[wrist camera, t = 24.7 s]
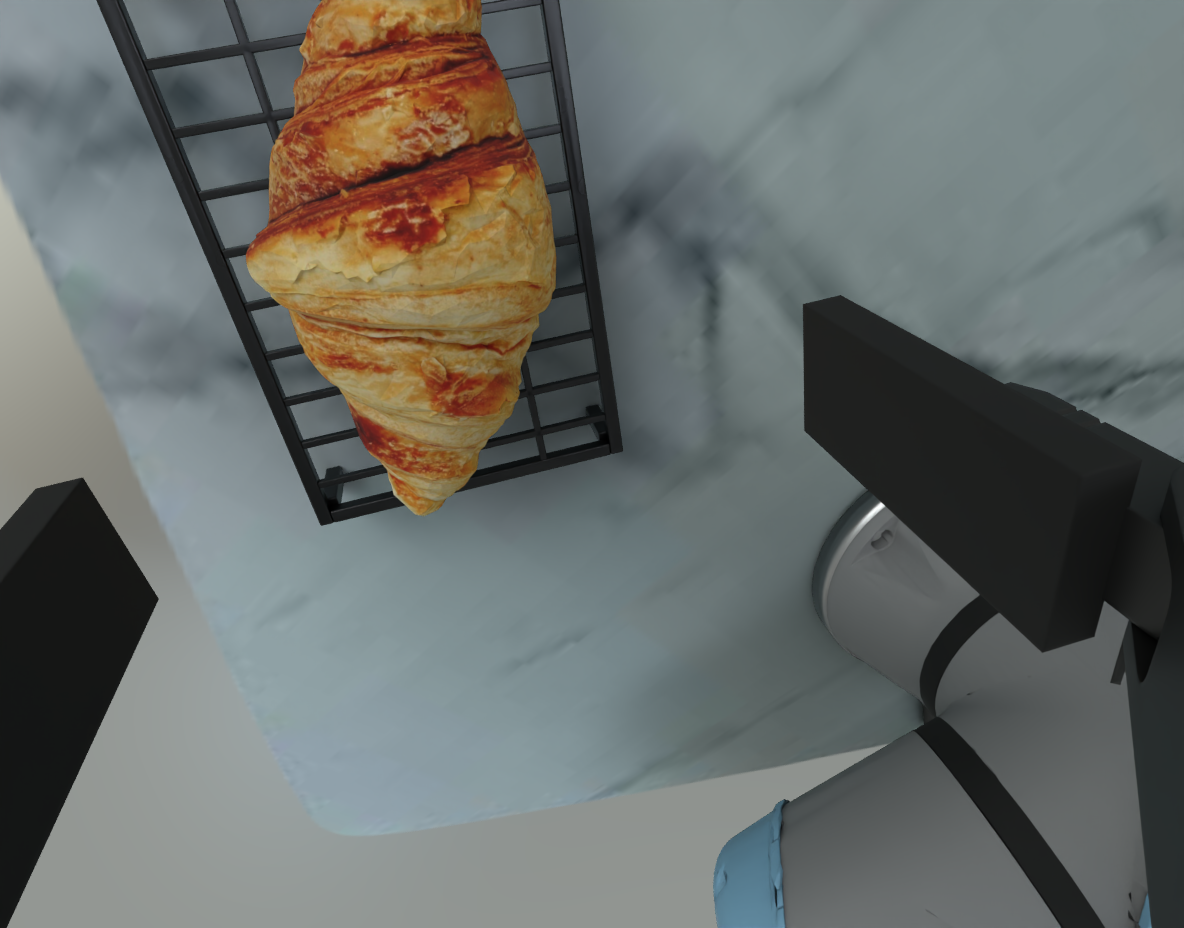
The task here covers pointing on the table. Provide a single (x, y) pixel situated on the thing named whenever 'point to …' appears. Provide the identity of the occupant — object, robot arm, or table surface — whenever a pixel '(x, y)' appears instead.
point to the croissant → (409, 233)
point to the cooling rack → (330, 489)
